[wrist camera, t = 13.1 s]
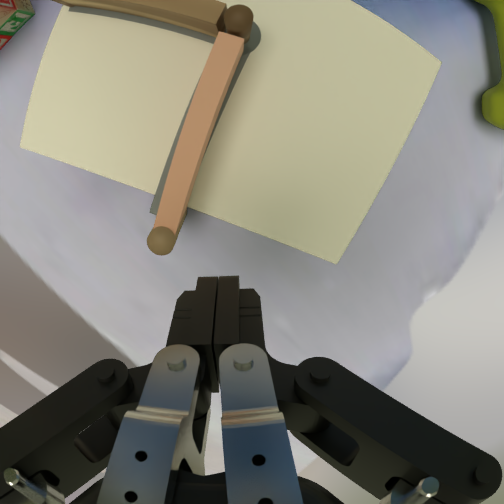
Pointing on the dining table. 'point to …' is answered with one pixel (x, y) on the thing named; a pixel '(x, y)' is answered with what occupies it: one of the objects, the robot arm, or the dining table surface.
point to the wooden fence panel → (182, 13)
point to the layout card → (239, 112)
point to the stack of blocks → (13, 17)
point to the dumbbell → (500, 97)
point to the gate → (194, 141)
